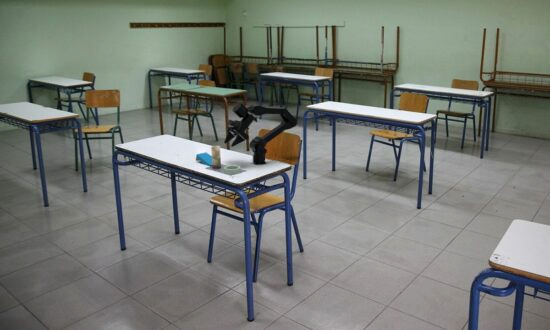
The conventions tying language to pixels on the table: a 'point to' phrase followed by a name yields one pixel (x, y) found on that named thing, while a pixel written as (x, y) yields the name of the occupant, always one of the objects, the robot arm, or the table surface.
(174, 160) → the table surface
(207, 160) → the blue long block
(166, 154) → the table surface
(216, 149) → the birch peg
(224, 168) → the thin grey base plate
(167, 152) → the table surface
